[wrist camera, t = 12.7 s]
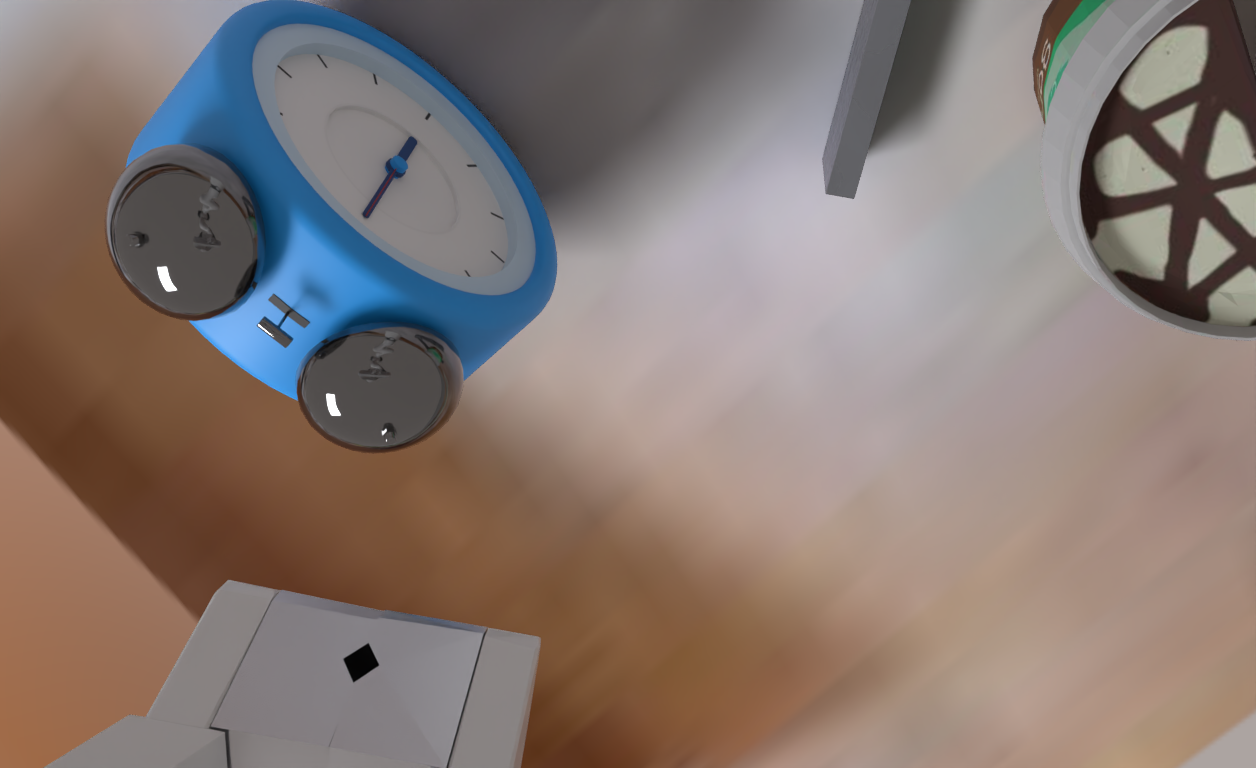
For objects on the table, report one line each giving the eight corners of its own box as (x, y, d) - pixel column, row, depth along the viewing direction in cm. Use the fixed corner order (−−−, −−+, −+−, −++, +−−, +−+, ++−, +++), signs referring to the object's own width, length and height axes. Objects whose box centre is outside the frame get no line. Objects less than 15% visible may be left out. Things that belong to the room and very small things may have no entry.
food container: (941, -34, 39) (988, 69, 30) (1129, -130, 36) (1234, -48, 28) (1063, 260, 44) (1131, 413, 36) (1233, 191, 42) (1346, 338, 34)
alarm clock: (586, 198, 45) (518, 431, 32) (484, 293, 48) (385, 540, 35) (312, -54, 40) (112, 103, 28) (218, 67, 43) (-1, 258, 31)
